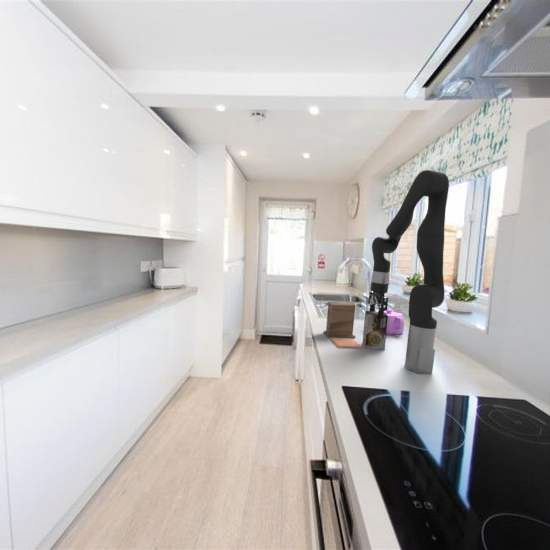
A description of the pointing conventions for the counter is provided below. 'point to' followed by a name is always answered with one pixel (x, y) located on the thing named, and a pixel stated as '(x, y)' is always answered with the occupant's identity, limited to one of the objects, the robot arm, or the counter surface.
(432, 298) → the robot arm
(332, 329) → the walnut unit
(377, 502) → the counter surface
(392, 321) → the teakettle
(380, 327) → the coffee box
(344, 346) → the terracotta pad
